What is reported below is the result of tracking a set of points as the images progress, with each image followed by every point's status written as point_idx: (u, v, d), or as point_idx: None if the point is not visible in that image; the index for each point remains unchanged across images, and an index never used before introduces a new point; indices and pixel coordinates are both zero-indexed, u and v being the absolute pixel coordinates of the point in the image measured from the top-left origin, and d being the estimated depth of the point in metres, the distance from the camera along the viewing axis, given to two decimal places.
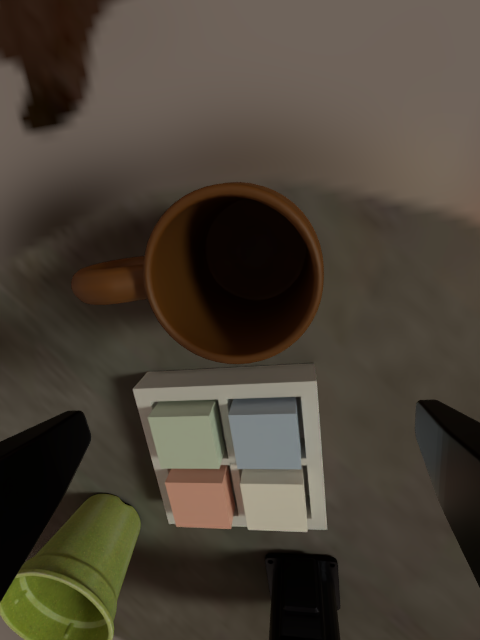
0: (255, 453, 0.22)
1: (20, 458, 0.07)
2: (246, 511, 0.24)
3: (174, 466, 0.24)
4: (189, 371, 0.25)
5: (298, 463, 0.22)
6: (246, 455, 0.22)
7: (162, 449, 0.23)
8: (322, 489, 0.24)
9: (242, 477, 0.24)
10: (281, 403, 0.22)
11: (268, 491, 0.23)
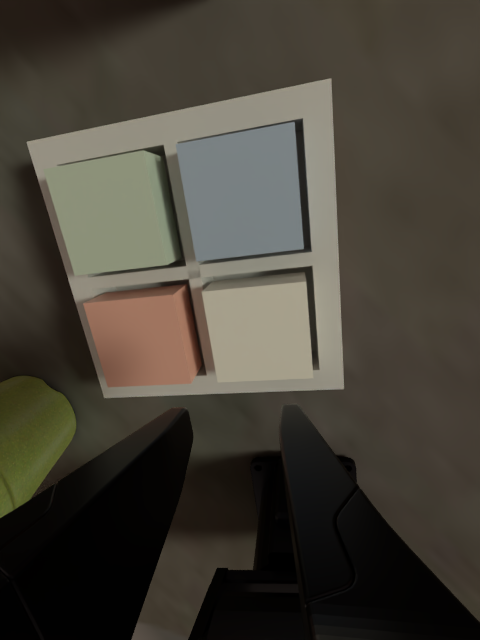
0: (225, 224, 0.13)
1: (150, 459, 0.07)
2: (214, 347, 0.15)
3: (95, 268, 0.14)
4: None
5: (299, 235, 0.13)
6: (209, 230, 0.13)
7: (73, 235, 0.14)
8: (337, 311, 0.15)
9: (207, 288, 0.15)
10: None
11: (248, 302, 0.14)
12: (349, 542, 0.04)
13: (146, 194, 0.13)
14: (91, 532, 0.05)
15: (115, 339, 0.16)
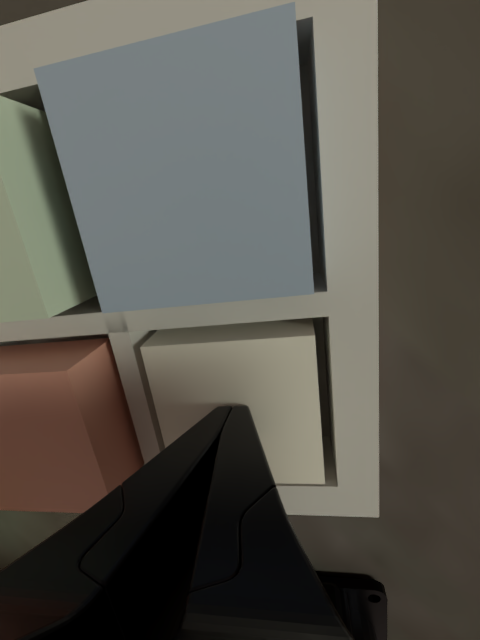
0: (151, 241, 0.06)
1: (209, 459, 0.07)
2: (165, 431, 0.09)
3: None
4: None
5: (305, 266, 0.06)
6: (123, 255, 0.06)
7: None
8: (372, 396, 0.08)
9: (152, 338, 0.09)
10: None
11: (217, 366, 0.08)
12: (246, 537, 0.04)
13: None
14: (165, 535, 0.05)
15: None
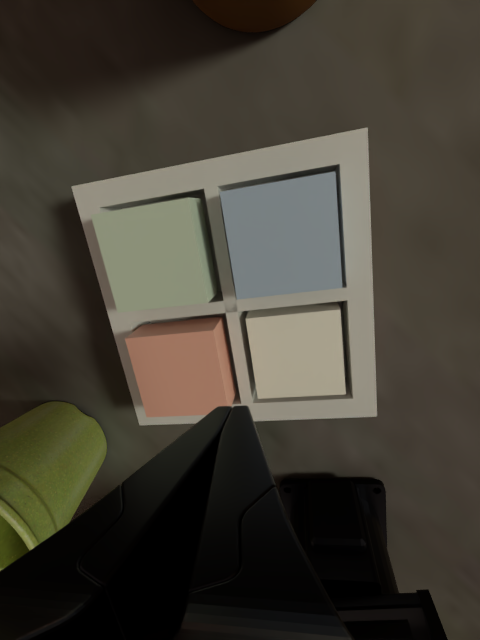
0: (265, 264, 0.14)
1: (209, 458, 0.07)
2: (255, 367, 0.17)
3: (137, 306, 0.15)
4: None
5: (338, 275, 0.13)
6: (251, 271, 0.14)
7: (117, 275, 0.15)
8: (371, 343, 0.15)
9: (248, 315, 0.16)
10: None
11: (287, 328, 0.16)
12: (246, 537, 0.04)
13: (190, 237, 0.14)
14: (165, 535, 0.05)
15: (155, 372, 0.16)
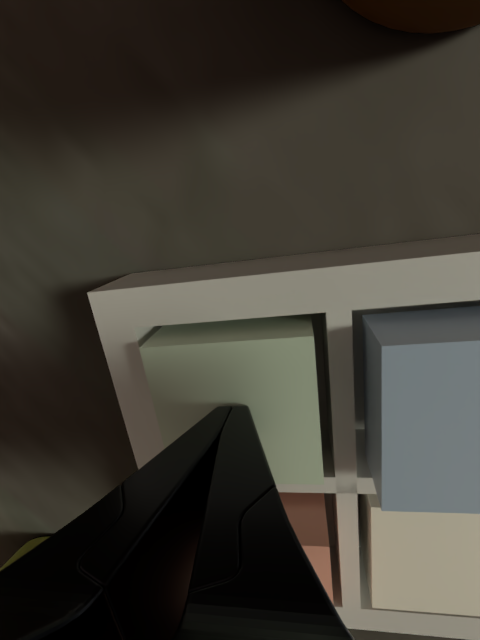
0: (449, 468, 0.07)
1: (209, 459, 0.07)
2: (376, 570, 0.10)
3: None
4: (232, 263, 0.10)
5: None
6: (418, 474, 0.08)
7: (177, 435, 0.09)
8: None
9: None
10: None
11: (442, 527, 0.09)
12: (245, 537, 0.04)
13: (307, 394, 0.08)
14: (165, 535, 0.05)
15: None
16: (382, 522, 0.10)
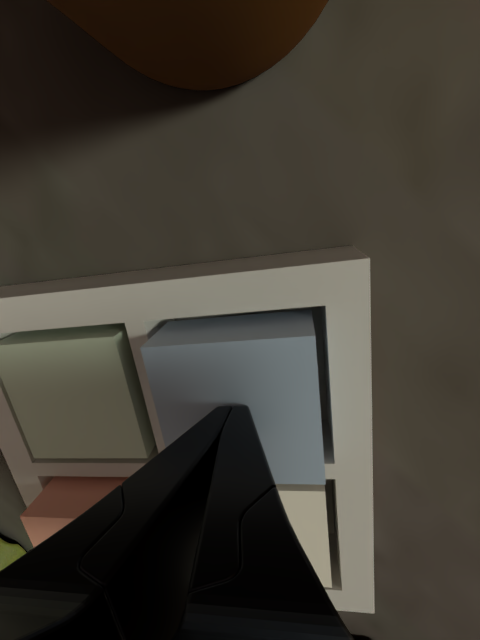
0: None
1: (209, 459, 0.07)
2: None
3: (58, 454, 0.12)
4: (81, 278, 0.12)
5: (319, 469, 0.09)
6: None
7: (30, 418, 0.11)
8: (369, 532, 0.11)
9: None
10: (276, 321, 0.09)
11: None
12: (245, 537, 0.04)
13: (119, 383, 0.10)
14: (165, 535, 0.05)
15: None
16: None
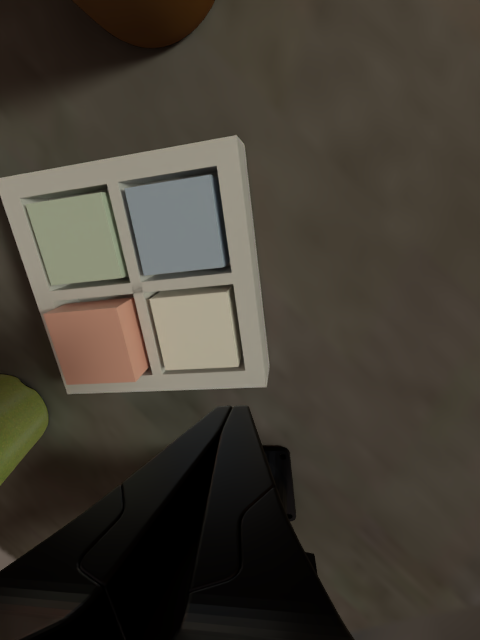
0: (164, 247, 0.17)
1: (209, 459, 0.07)
2: (161, 342, 0.19)
3: (66, 280, 0.18)
4: None
5: (219, 257, 0.17)
6: (153, 252, 0.17)
7: (49, 254, 0.18)
8: (256, 322, 0.18)
9: (155, 296, 0.19)
10: None
11: (185, 307, 0.18)
12: (246, 537, 0.04)
13: (104, 224, 0.17)
14: (165, 535, 0.05)
15: (71, 344, 0.18)
16: (156, 308, 0.18)
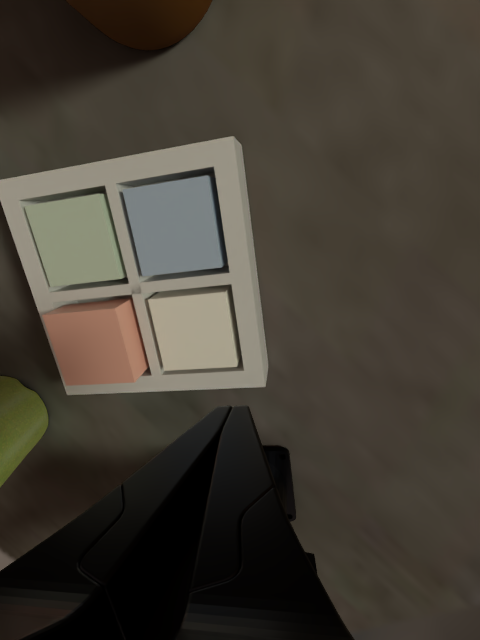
0: (162, 248, 0.17)
1: (209, 459, 0.07)
2: (159, 342, 0.19)
3: (65, 281, 0.19)
4: None
5: (217, 257, 0.17)
6: (151, 253, 0.17)
7: (48, 256, 0.18)
8: (254, 322, 0.18)
9: (153, 296, 0.19)
10: None
11: (183, 308, 0.18)
12: (246, 537, 0.04)
13: (102, 225, 0.17)
14: (165, 535, 0.05)
15: (70, 345, 0.18)
16: (155, 309, 0.18)
